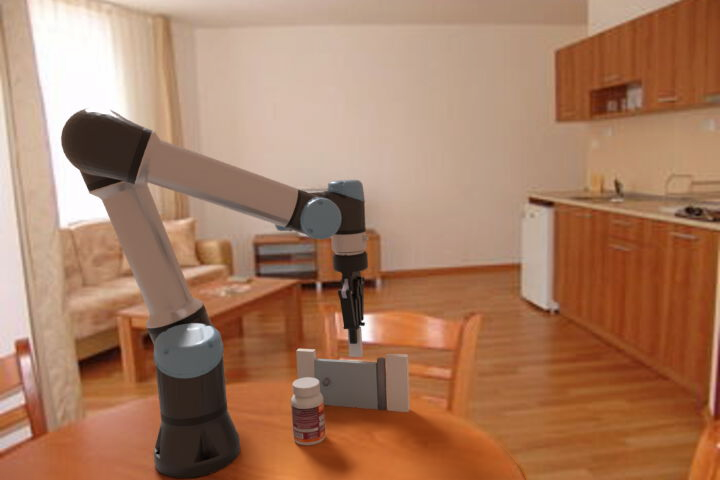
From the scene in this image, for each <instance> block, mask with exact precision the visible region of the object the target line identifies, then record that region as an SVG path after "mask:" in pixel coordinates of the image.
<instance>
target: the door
mask: <svg viewBox="0 0 720 480" xmlns="http://www.w3.org/2000/svg"><path fill="white" fill-rule="evenodd" d="M315 368H316V379H318V380H319V382H320V393H321V394H322V396H323V401H324V406H332V407H333V406H334V407H343V406H344V407H345V408H355V407H357V408H359V409H370V410H379V411H387V410H388V406H387V378H386V357H377V358H376V361H366V360H365V361H361V360H346V359H330V358H329V359H328V358H316V360H315Z"/></svg>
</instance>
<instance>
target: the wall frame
mask: <svg viewBox="0 0 720 480" xmlns="http://www.w3.org/2000/svg"><path fill="white" fill-rule="evenodd" d="M316 353H317V351H316V348H315V349H314V348H312V349H311V348H297V350H295V354H296V355H295V356H296V369H297V371H296V373H297V379H300V378H307V377H310V378H316V368H315V360H316V359H317V355H316ZM385 362H386V390H387V411H388V412H389V411H391V412H399V413H400V412H401V413H409V412H410V409H411V408H410V407H411V406H410V380H409V375H410V374H409V372H410V371H409V355H408V354H403V353H386V355H385Z"/></svg>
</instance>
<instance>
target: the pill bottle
mask: <svg viewBox="0 0 720 480" xmlns="http://www.w3.org/2000/svg"><path fill="white" fill-rule="evenodd" d="M292 394H293V395H292V397H291V399H290V405H291V406H290V407H291V420H292V423H291V424H292V436H293V441H294V442H295V443H297V445H298V444H299V445H301V446H314V445H318V444H320V443H322V442H323V440H324V439H325V438H326V421H325V420H326V418H325V405H324V401H323V396H322V394H321V393H320V382H319V380H318V379H316V378H310V377H307V378H300V379H298V378H297V379H295V380H294V381H293V382H292Z"/></svg>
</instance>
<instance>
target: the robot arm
mask: <svg viewBox="0 0 720 480" xmlns="http://www.w3.org/2000/svg"><path fill="white" fill-rule="evenodd" d="M60 140H61V148H62V152H63V153H64V155H65V157H66V159H67V160H68V161H69V162H70V164H71V165H72V166H73V167H74V168H76V169H77V170H79V173H80V174H81V177H82V179H83V183H84V184H85V186H86V188H87V191H88V193H89V194H90V195H92V196H95V197H97V198H98V199H100V200H101V202H102V203H103V206H104V208H105V211H106V213H107V215H108V218H109V220H110V222H111V224H112V225H111V226H112V227H113V230H114V232H115V234H116V237H117V239H118V242H119V244H120V247H121V249H122V250H123V253H124V255H125V256H124V257H125V258H126V260H127V263H128V265H129V268H130V270H131V272H132V275H133V277H134V279H135V282H136V284H137V287H138V288H139V289H138V290H139V292H140V294H141V296H142V298H143V301H144V303H145V306H146V308H147V310H148V312H149V315H148V318H147V320H146V321H145V326H146V329H147V331H148V334H149V337H150V339H151V341H152V343H153V348H154V349H153V353H152V354H153V362H154V365H155V373H156V382H157V392H158V393H157V394H158V401H159V402H158V404H159V411H160V412H159V413H160V414H159V415H160V425H159V429H158V430H159V431H158V434H157V438H156V443H155V446H154V451H153V458H154V466H155V469H156V470H157V471H158V472H159V473H161V474H162V475H164V476H167V477H170V478H175V479H177V478H178V479H180V478H181V479H188V478H189V479H190V478H197V477H202V476H206V475H210V474H213V473H215V472H219V471H221V470H222V469H225V468H226V467H228V466H229V465H231V464H232V463H233V462H234V461H235V460H236V459H237V458H238V456H240V452H241V442H240V441H241V440H240V435H239V433H238V431H237V429H236V427H235V425H234V422H233V419H232V417H231V415H230V412H229V410H228V400H227V399H228V398H227V388H226V386H227V385H226V377H225V375H226V374H225V365H224V364H225V363H224V351H225V348H224V347H225V346H224V343H223V341H222V336H221V333H220V332H219V330H218V329H217V328H216V327H215V325H214V324H213V323H212V321H211V319H210V316H209V314H208V312H207V309H206V307H205V305H204V304H205V303H204V302H203V301H202V300H201V299H199V298H196V297H194V296H192V293H191V290H190V288H189V285H188V283H187V280H186V277H185V275H184V273H183V270H182V267H181V265H180V262H179V260H178V258H177V255H176V252H175V250H174V248H173V246H172V243H171V240H170V238H169V234H168V232H167V230H166V227H165V225H164V223H163V220H162V218H161V215H160V213H159V210H158V208H157V205H156V203H155V202H156V201H154V198H153V195H152V193H151V190H150V188H149V185H148V184H151V185H154V186H156V187H157V186H158V187H161V188H162V189H163V188H164V189H166V190H170V191H173V192H176V193H179V194H183V195H185V196H188V197H192V198H194V199H198V200H200V201H203V202H207V203H209V204H213V205H216V206H219V207H222V208H225V209H228V210H231V211H234V212H237V213H241V214H243V215H247V216H249V217H252V218H254V219H257V220H262V221H264V222H267V223H271V224H274V226H275V229H276V230H277V231H278V232H279V231H280V232H286V231H287V232H292V231H294V232H297V233H300V234H303V235H306V236H308V237H309V238H311V239H315V240H326V239H330V238H331V250H332V252H333V254H332V266H333V270H334V271H335V272H337V273H341V279H340V288H339V289H338V290H337V294H338V298H339V302H340V309H341V316H342V321H343V327H342V328H343V330H347V336H348V337H347V342H348V355H349V358H362V356H363V355H364V351H363V336H362V335H363V334H362V327H364V326H366V323H365V321H364V319H365V317H364V314H365V312H364V304H365V303H364V302H365V300H364V298H365V297H364V296H365V295H364V294H365V289H364V287H365V277H364V276H362V275H361V274H362V273H361V272H363V271H365V270H367V269H368V267H369V263H368V253H367V251H366V250H367V248H368V247H367V241H369V239H370V237H369V236H367V232H366V227H367V226H366V207H365V203H366V200H365V192H364V186H363V183H362V182H361V180H358V179H344V180H343V179H340V180H339V179H338V180H331V181H330V182H328V184H327V190H324V191H318V192H307V191H304V190H301V189H298V188H296V187H295V186H294V187H293V186H291V185H288V184H285V183H282V182H280V181H277V180H274V179H271V178H269V177H266V176H264V175H260V174H258V173H255V172H251V171H249V170H246V169H243V168H241V167H238V166H235V165H232V164H229V163H226V162H224V161H221V160H218V159H216V158H213V157H210V156H206V155H204V154H202V153H199V152H196V151H193V150H192V149H191V150H190V149H187V148H185V147H182V146H179V145H177V144H173V143H170V142H168V141H166V140H163V139H160V137H159V135H158V134H157V132H156V130H153V129H150V128H148V127H147V128H146V127H145V126H142V125H139V124H138V123H135V122H134V121H131V120H129V119H127V118H126V117H124V116H122V115H120V114H119V113H118V112H116V111H114V110H113V109H109V108H105V107H98V106H97V107H95V106H94V107H87V108H84V109H81V110H79V111H76V112H74V113H73V114H72V115H71V116H70V117H69V118H68V119H67V121H66V122H65V123H64V126H63V127H62V129H61V137H60ZM363 321H364V322H363Z"/></svg>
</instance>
